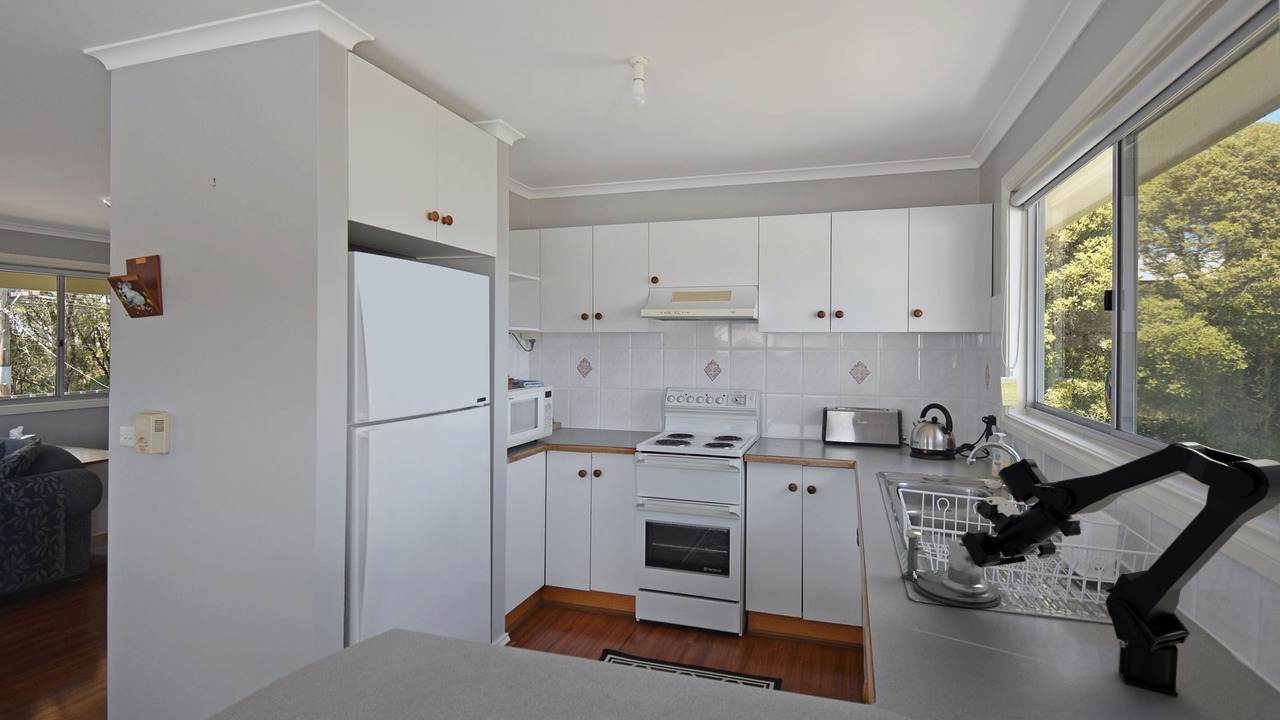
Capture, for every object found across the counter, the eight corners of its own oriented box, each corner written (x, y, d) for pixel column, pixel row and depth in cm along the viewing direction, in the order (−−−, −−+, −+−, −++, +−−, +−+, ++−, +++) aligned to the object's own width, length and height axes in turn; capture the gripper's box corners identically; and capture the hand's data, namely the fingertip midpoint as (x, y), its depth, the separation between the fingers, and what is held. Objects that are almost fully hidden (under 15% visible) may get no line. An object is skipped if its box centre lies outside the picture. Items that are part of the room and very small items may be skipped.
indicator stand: (900, 577, 141) (902, 531, 141) (908, 574, 143) (910, 528, 143) (924, 585, 137) (927, 537, 137) (932, 581, 139) (934, 534, 139)
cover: (989, 585, 133) (991, 543, 132) (985, 599, 126) (987, 554, 125) (944, 576, 137) (945, 535, 137) (937, 589, 130) (939, 545, 130)
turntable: (1003, 588, 136) (1004, 580, 136) (998, 615, 123) (998, 606, 123) (920, 572, 145) (921, 564, 145) (906, 595, 131) (907, 586, 131)
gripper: (1044, 483, 126) (991, 523, 137) (972, 489, 119) (922, 531, 130) (1082, 536, 119) (1023, 574, 130) (1008, 546, 112) (952, 585, 123)
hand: (980, 564), depth 128 cm, fingers closed
